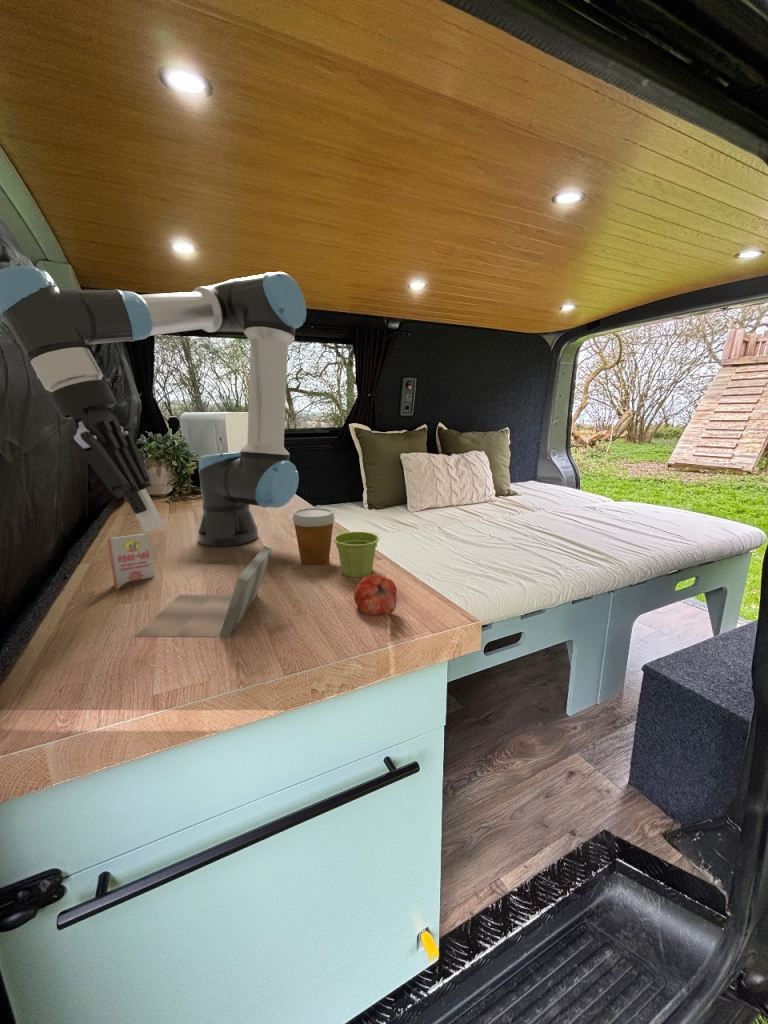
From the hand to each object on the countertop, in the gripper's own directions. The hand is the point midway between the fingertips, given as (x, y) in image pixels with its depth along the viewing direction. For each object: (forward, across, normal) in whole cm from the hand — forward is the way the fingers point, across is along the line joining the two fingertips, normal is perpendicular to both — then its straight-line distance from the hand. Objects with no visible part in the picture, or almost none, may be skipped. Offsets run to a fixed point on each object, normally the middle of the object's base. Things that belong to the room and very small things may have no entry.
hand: (155, 528), depth 66 cm
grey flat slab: (+14, +5, +12) cm, 19 cm away
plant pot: (+26, -13, +26) cm, 39 cm away
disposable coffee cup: (+23, -22, +17) cm, 36 cm away
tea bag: (+11, -12, -16) cm, 23 cm away
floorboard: (+16, +4, +1) cm, 17 cm away
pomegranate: (+27, +4, +29) cm, 39 cm away
